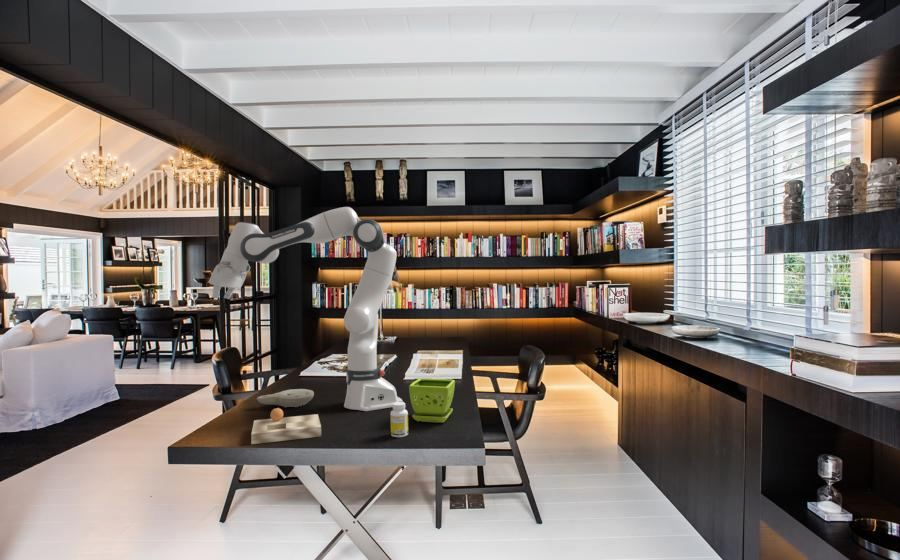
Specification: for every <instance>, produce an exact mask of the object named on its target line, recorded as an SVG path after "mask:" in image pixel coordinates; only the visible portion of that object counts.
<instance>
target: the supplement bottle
mask: <svg viewBox="0 0 900 560" xmlns="http://www.w3.org/2000/svg"><path fill="white" fill-rule="evenodd" d="M391 408H392V410H391V411H390V435H391V437H393V438H394V437H395V438H404V437H406V436H408V435H409V413H408V410H407V409H406V403H405V402H404V401H403V402H395V403H393V406H392V407H391Z"/></svg>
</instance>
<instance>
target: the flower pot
mask: <svg viewBox="0 0 900 560" xmlns="http://www.w3.org/2000/svg"><path fill="white" fill-rule="evenodd" d="M455 385H456V381H455V380H454V379H446V378H445V379H443V378H417V379H416V380H415V381H412V382H411V384H409V386H408V390H409V391H408V392H409V399H410V403H411V407H412V410H413V412H414V413H413V414H412V416H411V417H412V418H413V420H415V421H416V422H420V421H421V422H426V423H441V424H442V423H445V422H446V420H447V419H448V418H449V417H450V415H451V414H452V413H453V411H454V410H453V408H450V407H451V404H452V402H453V398H454V393H455V387H456V386H455Z"/></svg>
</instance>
